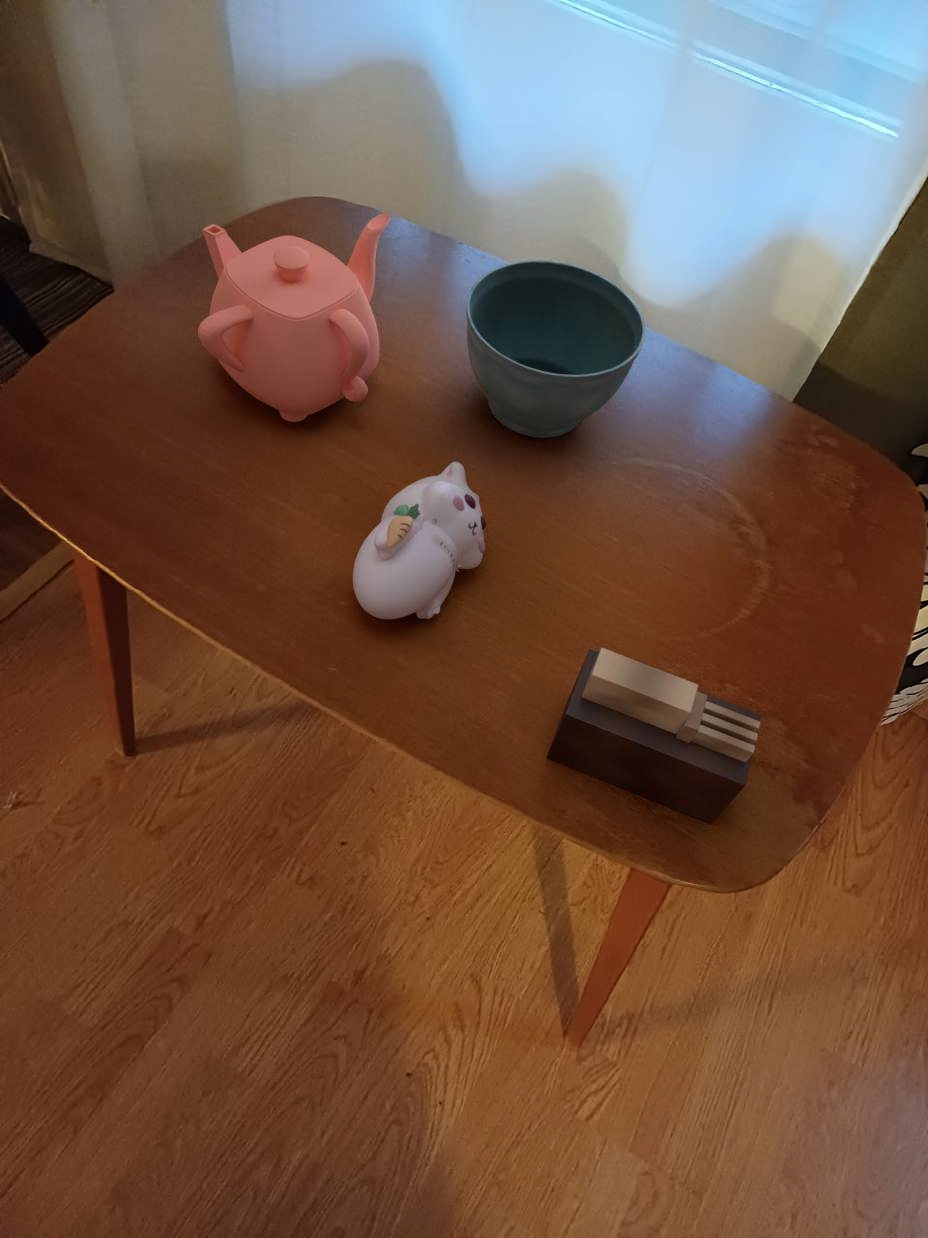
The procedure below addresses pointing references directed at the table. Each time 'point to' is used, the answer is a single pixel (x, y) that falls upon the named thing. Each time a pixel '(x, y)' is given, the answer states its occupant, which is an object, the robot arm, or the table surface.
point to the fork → (669, 705)
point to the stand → (647, 755)
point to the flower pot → (550, 343)
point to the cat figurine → (420, 547)
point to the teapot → (294, 319)
